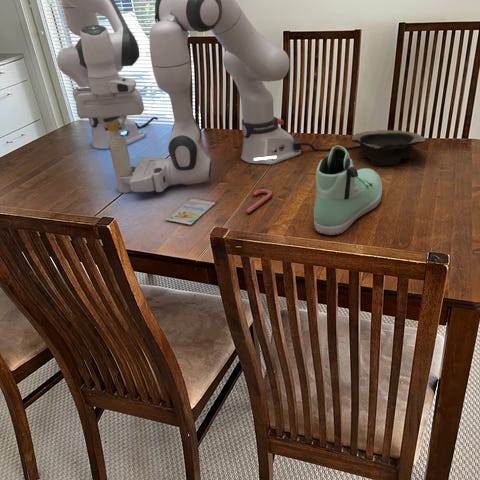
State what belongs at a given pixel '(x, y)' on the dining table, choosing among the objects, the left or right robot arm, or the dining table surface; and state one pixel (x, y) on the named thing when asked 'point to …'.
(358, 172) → the sneaker
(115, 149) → the bottle
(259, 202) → the candy cane
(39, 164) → the dining table surface
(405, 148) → the stone bowl
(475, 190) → the dining table surface
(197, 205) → the baking ingredient package
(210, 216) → the dining table surface
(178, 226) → the dining table surface
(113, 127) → the cap
